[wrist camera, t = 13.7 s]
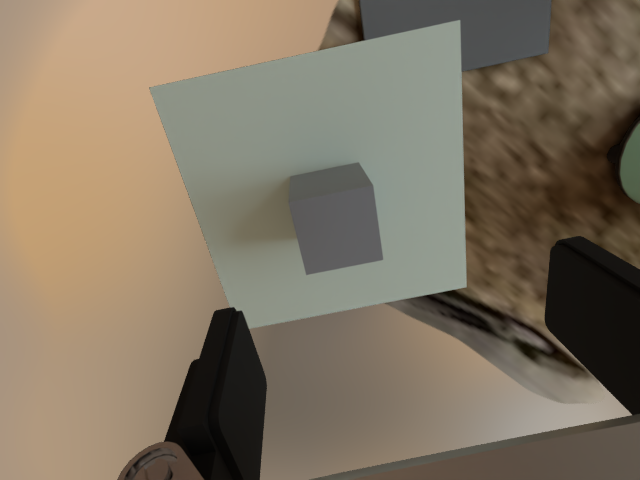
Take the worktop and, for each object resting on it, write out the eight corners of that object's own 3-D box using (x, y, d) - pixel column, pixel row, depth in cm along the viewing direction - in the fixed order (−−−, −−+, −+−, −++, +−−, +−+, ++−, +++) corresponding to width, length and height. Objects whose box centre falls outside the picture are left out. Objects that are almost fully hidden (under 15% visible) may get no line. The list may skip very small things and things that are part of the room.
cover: (382, 42, 35) (506, 6, 14) (399, 198, 42) (499, 329, 21) (219, 77, 35) (107, 93, 15) (262, 226, 42) (227, 380, 22)
